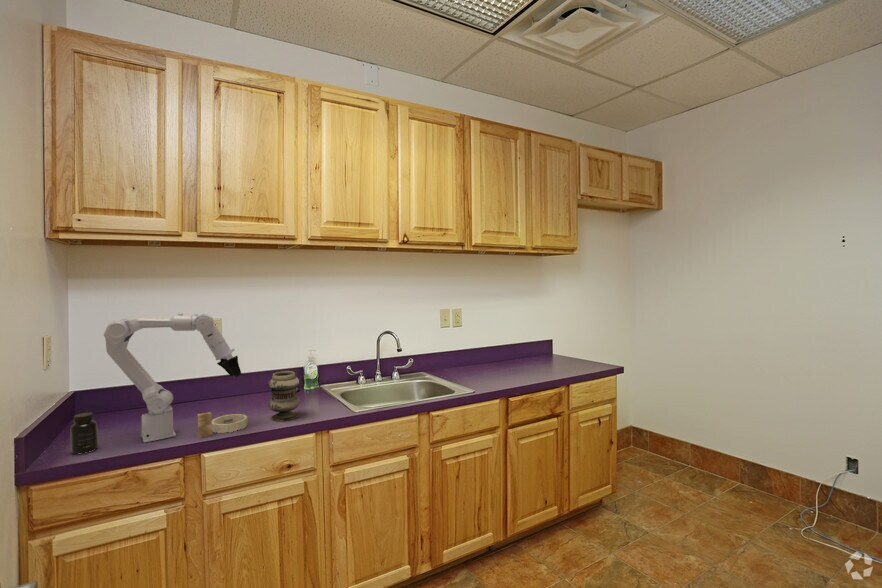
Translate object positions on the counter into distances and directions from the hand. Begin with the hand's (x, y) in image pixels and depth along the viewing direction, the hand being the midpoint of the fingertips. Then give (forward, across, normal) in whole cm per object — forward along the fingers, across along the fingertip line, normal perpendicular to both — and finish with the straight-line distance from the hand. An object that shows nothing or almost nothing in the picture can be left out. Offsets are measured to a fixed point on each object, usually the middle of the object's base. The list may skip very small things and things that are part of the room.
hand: (236, 375), depth 160 cm
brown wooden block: (+13, 0, +19) cm, 23 cm away
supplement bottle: (-2, +10, +48) cm, 49 cm away
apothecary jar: (+25, +3, -7) cm, 27 cm away
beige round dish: (+16, +4, +10) cm, 20 cm away
